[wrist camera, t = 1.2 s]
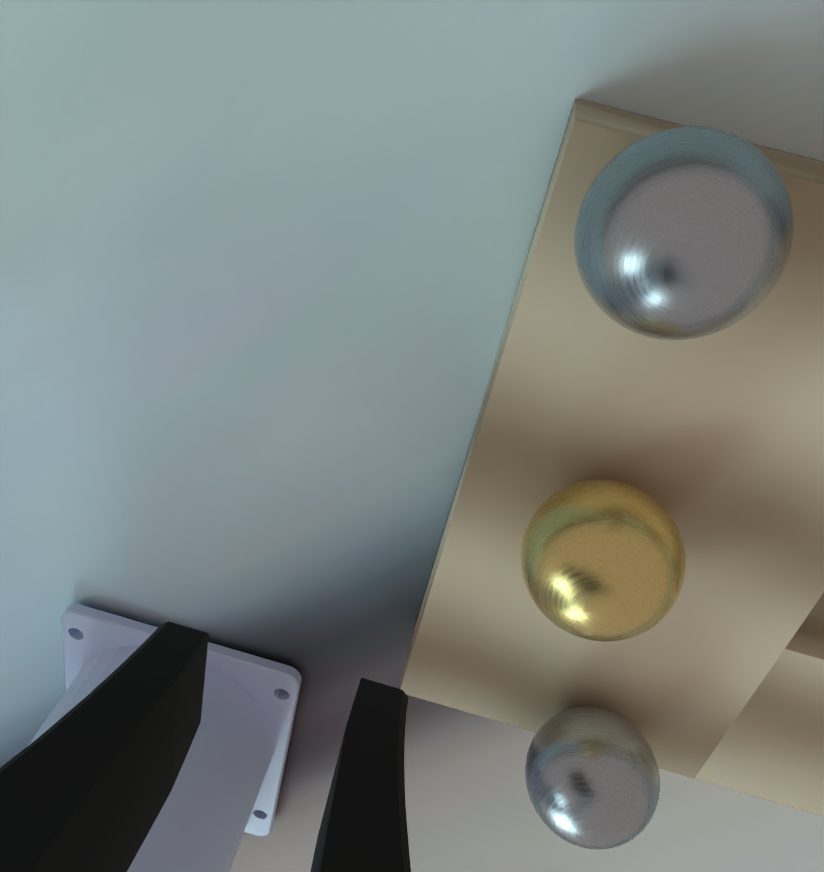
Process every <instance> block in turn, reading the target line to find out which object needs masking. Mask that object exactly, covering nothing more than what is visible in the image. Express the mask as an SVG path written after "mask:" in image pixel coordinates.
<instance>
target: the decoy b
mask: <svg viewBox="0 0 824 872" xmlns="http://www.w3.org/2000/svg"><path fill="white" fill-rule="evenodd" d="M792 239H793V211H792V205H791V199H790V196H789V193H788V190H787V187H786V185H785V183H784V181H783V179H782V177H781V176H780V174H779V172H778V170H777V169H776V168H775V166H774V165H773V164H772V162H771V161H770V160H769V159H768V158H767V157H766V156H765V155H764V154H763V153H762V152H761V151H760V150H759V149H757V148H756V147H755V146H753V145H752V144H750V143H749V142H747V141H746V140H744V139H742V138H740V137H738V136H736V135H734V134H731V133H728V132H726V131H723V130H719V129H714V128H708V127H695V126H689V127H678V128H672V129H668V130H663V131H660V132H657V133H654V134H651V135H648V136H646V137H644V138H642V139H640V140H638V141H636V142H634V143H633V144H631V145H630V146H628V147H626V148H625V149H623V150H622V151H621V152H620V153H618V154H617V155H616V156H615V157H614V158H612V159H611V160H610V161H609V162H608V163H607V164H606V165H605V167H604V168H603V169H602V170H601V171H600V172H599V174H598V175H597V176H596V178H595V179H594V180H593V182H592V183H591V185H590V187H589V189H588V191H587V192H586V194H585V196H584V199H583V201H582V204H581V206H580V210H579V214H578V217H577V221H576V227H575V236H574V249H575V256H576V263H577V267H578V270H579V274H580V277H581V279H582V282H583V284H584V286H585V288H586V290H587V292H588V293H589V295H590V296H591V298H592V299H593V301H594V302H595V303H596V304H597V306H598V307H599V308H600V309H601V310H602V311H603V312H604V313H605V314H606V315H607V316H608V317H609V318H611V319H612V320H613V321H615V322H616V323H618V324H619V325H621V326H623V327H625V328H627V329H629V330H631V331H633V332H635V333H637V334H640V335H643V336H646V337H650V338H655V339H662V340H688V339H694V338H700V337H703V336H707V335H711V334H713V333H716V332H719V331H721V330H724V329H726V328H727V327H729V326H731V325H733V324H735V323H737V322H738V321H740V320H741V319H743V318H744V317H746V316H747V315H748V314H749V313H751V312H752V311H753V310H754V309H755V308H757V307H758V306H759V304H760V303H761V302H762V301H763V300H764V299H765V298H766V297H767V296H768V294H769V293H770V292H771V290H772V289H773V288H774V286H775V285H776V283H777V281H778V279H779V278H780V276H781V274H782V272H783V269H784V267H785V265H786V262H787V260H788V257H789V253H790V250H791V246H792Z"/></svg>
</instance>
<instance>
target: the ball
mask: <svg viewBox="0 0 824 872" xmlns="http://www.w3.org/2000/svg"><path fill="white" fill-rule="evenodd" d="M685 568H686V559H685V549H684V545H683V542H682V538H681V535H680V532H679V530H678V528H677V526H676V524H675V522H674V521H673V519H672V518H671V516H670V515H669V513H668V512H667V511H666V510H665V509H664V508H663V507H662V505H661V504H660V503H659V502H658V501H656V500H655V499H654V498H653V497H652V496H650V495H649V494H647V493H645V492H644V491H642V490H641V489H639V488H636V487H634V486H632V485H629V484H626V483H623V482H619V481H614V480H605V479H596V480H587V481H582V482H577V483H574V484H571V485H569V486H567V487H564V488H562V489H561V490H559V491H557V492H556V493H554V494H553V495H551V496H550V497H549V498H548V499H547V500H545V501H544V502H543V503H542V504H541V506H540V507H539V508H538V509H537V510H536V512H535V513H534V515H533V516H532V518H531V520H530V522H529V524H528V526H527V528H526V530H525V533H524V537H523V541H522V547H521V569H522V573H523V578H524V582H525V585H526V587H527V590H528V592H529V594H530V596H531V598H532V600H533V601H534V603H535V604H536V606H537V607H538V608H539V610H540V611H541V612H542V613H543V614H544V615H545V616H546V617H547V618H548V619H549V620H550V621H551V622H552V623H554V624H555V625H556V626H558V627H559V628H561V629H563V630H564V631H566V632H568V633H570V634H573V635H575V636H577V637H580V638H583V639H587V640H592V641H601V642H611V641H620V640H625V639H629V638H632V637H635V636H637V635H640V634H642V633H644V632H646V631H648V630H649V629H651V628H652V627H654V626H655V625H656V624H657V623H659V622H660V621H661V620H662V619H663V618H664V617H665V616H666V615H667V614H668V613H669V611H670V610H671V608H672V607H673V605H674V604H675V602H676V601H677V599H678V596H679V594H680V592H681V589H682V586H683V582H684V577H685Z"/></svg>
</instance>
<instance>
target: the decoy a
mask: <svg viewBox="0 0 824 872" xmlns="http://www.w3.org/2000/svg"><path fill="white" fill-rule="evenodd" d="M525 775H526V784H527V789H528V793H529V796H530V799H531V802H532V804H533V806H534V808H535V810H536V812H537V813H538V815H539V816H540V818H541V819H542V820H543V822H544V823H545V824H546V825H547V826H548V827H549V828H550V829H551V830H552V831H553V832H554V833H555V834H557V835H558V836H559V837H561V838H562V839H564V840H566V841H567V842H569V843H572V844H574V845H577V846H580V847H583V848H588V849H609V848H614V847H617V846H620V845H623V844H625V843H627V842H629V841H630V840H632V839H633V838H635V837H636V836H637V835H638V834H639V833H640V832H642V830H643V829H644V828H645V827H646V826H647V824H648V823H649V821H650V820H651V818H652V816H653V814H654V812H655V809H656V806H657V802H658V799H659V792H660V777H659V770H658V765H657V762H656V759H655V756H654V753H653V751H652V749H651V747H650V745H649V744H648V742H647V740H646V739H645V738H644V736H643V735H642V734H641V732H640V731H639V730H638V729H637V728H636V727H635V726H634V725H633V724H632V723H630V722H629V721H628V720H626V719H625V718H623V717H622V716H620V715H618V714H617V713H614V712H612V711H610V710H607V709H603V708H599V707H591V706H582V707H574V708H570V709H567V710H564V711H562V712H560V713H558V714H556V715H554V716H553V717H551V718H550V719H549V720H548V721H547V722H546V723H544V724H543V726H542V727H541V728H540V729H539V730H538V732H537V733H536V735H535V736H534V738H533V740H532V742H531V745H530V747H529V750H528V754H527V759H526V767H525Z"/></svg>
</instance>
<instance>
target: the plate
mask: <svg viewBox="0 0 824 872" xmlns="http://www.w3.org/2000/svg"><path fill="white" fill-rule="evenodd" d="M678 127H685V126H681V125H677V124H673V123H669V122H666V121H662V120H658V119H654V118H650V117H646V116H642V115H638V114H635V113H631V112H627V111H623V110H619V109H615V108H611V107H607V106H604V105H600V104H596V103H592V102H588V101H584V100H580V99H576V98H575V100H574V104H573V107H572V110H571V114H570V117H569V120H568V124H567V127H566V130H565V133H564V137H563V140H562V143H561V147H560V150H559V153H558V157H557V160H556V163H555V166H554V170H553V173H552V176H551V180H550V183H549V186H548V190H547V193H546V196H545V200H544V203H543V206H542V209H541V213H540V216H539V219H538V223H537V226H536V229H535V233H534V236H533V239H532V242H531V246H530V249H529V252H528V256H527V259H526V262H525V266H524V269H523V272H522V275H521V279H520V282H519V285H518V289H517V292H516V295H515V299H514V302H513V305H512V308H511V312H510V315H509V318H508V322H507V325H506V328H505V332H504V335H503V338H502V342H501V345H500V348H499V351H498V355H497V358H496V361H495V365H494V368H493V371H492V375H491V378H490V381H489V384H488V388H487V391H486V394H485V398H484V401H483V404H482V408H481V411H480V414H479V417H478V421H477V424H476V427H475V431H474V434H473V437H472V441H471V444H470V447H469V451H468V454H467V457H466V460H465V464H464V467H463V470H462V474H461V477H460V480H459V484H458V487H457V490H456V493H455V497H454V500H453V503H452V507H451V510H450V513H449V517H448V520H447V523H446V526H445V530H444V533H443V536H442V540H441V543H440V546H439V550H438V553H437V556H436V559H435V563H434V566H433V569H432V573H431V576H430V579H429V583H428V586H427V589H426V593H425V596H424V599H423V602H422V606H421V609H420V612H419V616H418V619H417V622H416V626H415V629H414V634H413V638H412V642H411V646H410V650H409V654H408V658H407V663H406V667H405V671H404V675H403V679H402V683H401V687H400V689H401V690H403V691H404V692H405V694H406V695H410V696H413V697H417V698H420V699H424V700H427V701H430V702H434V703H437V704H441V705H444V706H448V707H451V708H454V709H458V710H461V711H465V712H468V713H472V714H475V715H478V716H482V717H485V718H489V719H492V720H495V721H499V722H502V723H506V724H509V725H513V726H516V727H519V728H523V729H526V730H530V731H533V732H538V730H539V729H540V728H541V727H542V726H543V724H544V723H546V722H547V721H548V720H549V719H550V718H551V717H553V716H554V715H556V714H558V713H560V712H562V711H564V710H567V709H570V708H574V707H582V706H591V707H599V708H603V709H607V710H610V711H612V712H614V713H617V714H618V715H620V716H622V717H623V718H625V719H626V720H628V721H629V722H630V723H632V724H633V725H634V726H635V727H636V728H637V729H638V730H639V731H640V732H641V734H642V735H643V736H644V738H645V739H646V740H647V742H648V744H649V745H650V747H651V749H652V751H653V753H654V756H655V759H656V762H657V765H658V768H660V769H663V770H667V771H670V772H674V773H677V774H680V775H684V776H687V777H691V778H694V779H698V780H701V781H704V782H708V783H711V784H715V785H718V786H722V787H725V788H728V789H732V790H735V791H739V792H742V793H745V794H749V795H752V796H756V797H759V798H763V799H766V800H769V801H773V802H776V803H780V804H783V805H787V806H790V807H793V808H797V809H800V810H804V811H807V812H811V813H814V814H817V815H821V816H824V594H823V593H824V162H821V161H817V160H813V159H809V158H805V157H801V156H797V155H793V154H790V153H786V152H782V151H778V150H774V149H770V148H766V147H762V146H759V145H755V144H752V145H753V146H755V147H756V148H757V149H759V150H760V151H761V152H762V153H763V154H764V155H765V156H766V157H767V158H768V159H769V160H770V161H771V162H772V164H773V165H774V166H775V168H776V169H777V170H778V172H779V174H780V176H781V177H782V179H783V181H784V183H785V185H786V187H787V190H788V193H789V196H790V199H791V205H792V211H793V239H792V246H791V250H790V253H789V257H788V260H787V262H786V265H785V267H784V269H783V272H782V274H781V276H780V278H779V279H778V281H777V283H776V285H775V286H774V288H773V289H772V290H771V292H770V293H769V294H768V296H767V297H766V298H765V299H764V300H763V301H762V302H761V303H760V304H759V306H758V307H757V308H755V309H754V310H753V311H752V312H751V313H749V314H748V315H747V316H746V317H744V318H743V319H741V320H740V321H738V322H737V323H735V324H733V325H731V326H729V327H727V328H726V329H724V330H721V331H719V332H716V333H713V334H711V335H707V336H703V337H700V338H694V339H688V340H662V339H655V338H650V337H646V336H643V335H640V334H637V333H635V332H633V331H631V330H629V329H627V328H625V327H623V326H621V325H619V324H618V323H616V322H615V321H613V320H612V319H611V318H609V317H608V316H607V315H606V314H605V313H604V312H603V311H602V310H601V309H600V308H599V307H598V306H597V304H596V303H595V302H594V301H593V299H592V298H591V296H590V295H589V293H588V292H587V290H586V288H585V286H584V284H583V282H582V279H581V277H580V274H579V270H578V267H577V263H576V256H575V249H574V236H575V227H576V221H577V217H578V214H579V210H580V206H581V204H582V201H583V199H584V196H585V194H586V192H587V191H588V189H589V187H590V185H591V183H592V182H593V180H594V179H595V178H596V176H597V175H598V174H599V172H600V171H601V170H602V169H603V168H604V167H605V165H606V164H607V163H608V162H609V161H610V160H611V159H612V158H614V157H615V156H616V155H617V154H618V153H620V152H621V151H622V150H623V149H625V148H626V147H628V146H630V145H631V144H633V143H634V142H636V141H638V140H640V139H642V138H644V137H646V136H648V135H651V134H654V133H657V132H660V131H663V130H668V129H672V128H678ZM750 144H751V143H750ZM596 479H605V480H614V481H619V482H623V483H626V484H629V485H632V486H634V487H636V488H639V489H641V490H642V491H644V492H645V493H647V494H649V495H650V496H652V497H653V498H654V499H655V500H656V501H658V502H659V503H660V504H661V505H662V507H663V508H664V509H665V510H666V511H667V512H668V513H669V515H670V516H671V518H672V519H673V521H674V522H675V524H676V526H677V528H678V530H679V532H680V535H681V538H682V542H683V545H684V549H685V559H686V568H685V577H684V582H683V586H682V589H681V592H680V594H679V596H678V599H677V601H676V602H675V604H674V605H673V607H672V608H671V610H670V611H669V613H668V614H667V615H666V616H665V617H664V618H663V619H662V620H661V621H660V622H659V623H657V624H656V625H655V626H654V627H652V628H651V629H649V630H648V631H646V632H644V633H642V634H640V635H637V636H635V637H632V638H629V639H625V640H620V641H611V642H601V641H592V640H587V639H583V638H580V637H577V636H575V635H573V634H570V633H568V632H566V631H564V630H563V629H561V628H559V627H558V626H556V625H555V624H554V623H552V622H551V621H550V620H549V619H548V618H547V617H546V616H545V615H544V614H543V613H542V612H541V611H540V610H539V608H538V607H537V606H536V604H535V603H534V601H533V600H532V598H531V596H530V594H529V592H528V590H527V587H526V585H525V582H524V578H523V573H522V569H521V547H522V541H523V537H524V533H525V530H526V528H527V526H528V524H529V522H530V520H531V518H532V516H533V515H534V513H535V512H536V510H537V509H538V508H539V507H540V506H541V504H542V503H543V502H544V501H545V500H547V499H548V498H549V497H550V496H551V495H553V494H554V493H556V492H557V491H559V490H561V489H562V488H564V487H567V486H569V485H571V484H574V483H577V482H582V481H587V480H596Z"/></svg>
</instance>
